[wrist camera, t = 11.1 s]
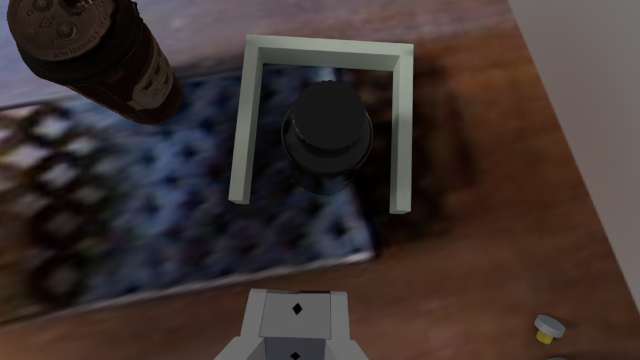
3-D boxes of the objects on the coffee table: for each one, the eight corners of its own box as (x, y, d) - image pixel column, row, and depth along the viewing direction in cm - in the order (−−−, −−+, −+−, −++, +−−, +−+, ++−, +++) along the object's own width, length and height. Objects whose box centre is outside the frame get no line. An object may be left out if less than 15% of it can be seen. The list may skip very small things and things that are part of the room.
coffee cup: (197, 54, 36) (130, -52, 23) (198, 132, 35) (128, 65, 22) (110, 60, 36) (-4, -43, 23) (108, 138, 34) (-16, 75, 22)
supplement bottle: (357, 198, 34) (380, 172, 22) (285, 193, 34) (268, 164, 22) (361, 129, 35) (384, 69, 23) (292, 124, 35) (279, 61, 23)
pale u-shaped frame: (402, 214, 33) (410, 210, 30) (236, 203, 33) (228, 199, 30) (405, 60, 36) (413, 44, 33) (252, 51, 36) (246, 34, 33)
